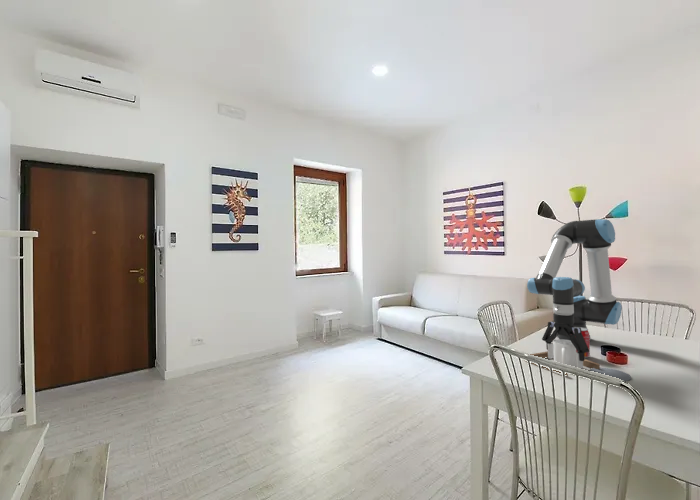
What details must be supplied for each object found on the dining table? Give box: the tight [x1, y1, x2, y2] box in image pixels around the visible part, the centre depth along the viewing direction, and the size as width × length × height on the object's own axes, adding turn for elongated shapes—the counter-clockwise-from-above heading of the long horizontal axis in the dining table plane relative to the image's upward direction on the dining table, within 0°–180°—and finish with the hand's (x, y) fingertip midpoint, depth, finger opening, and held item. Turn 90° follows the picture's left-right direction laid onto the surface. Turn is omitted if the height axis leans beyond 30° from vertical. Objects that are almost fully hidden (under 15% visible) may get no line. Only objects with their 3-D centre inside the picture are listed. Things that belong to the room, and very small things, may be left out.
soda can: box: [574, 327, 591, 359], centre depth 157 cm, size 7×7×13 cm
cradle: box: [529, 350, 600, 377], centre depth 147 cm, size 20×19×2 cm
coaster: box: [589, 367, 632, 382], centre depth 135 cm, size 13×13×1 cm
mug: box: [552, 338, 577, 368], centre depth 145 cm, size 12×8×10 cm
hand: (564, 362), depth 145 cm, fingers open, 13 cm apart
